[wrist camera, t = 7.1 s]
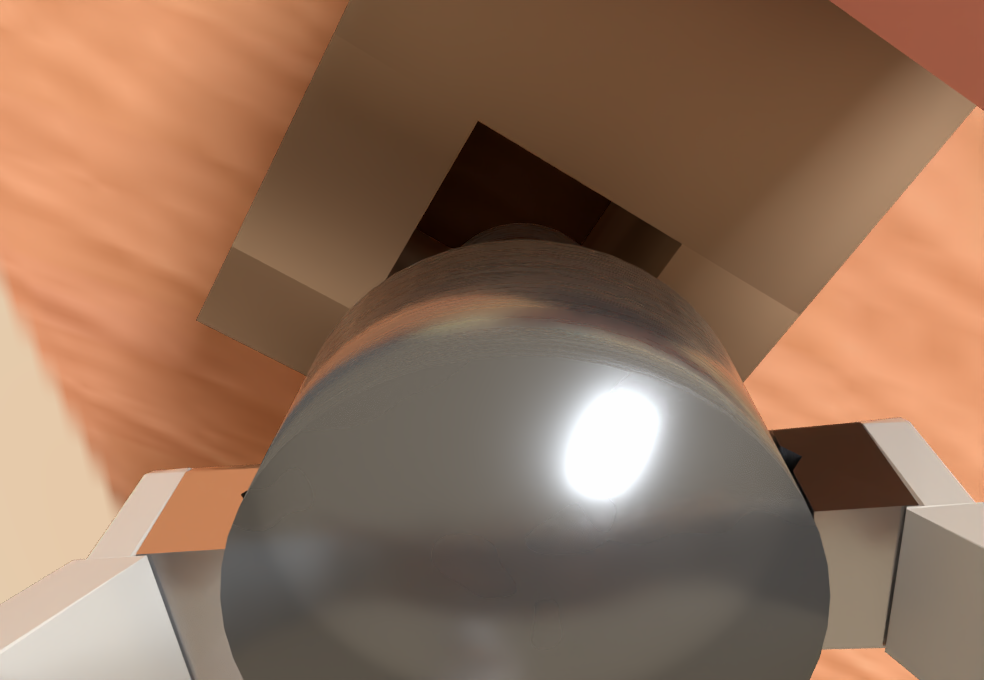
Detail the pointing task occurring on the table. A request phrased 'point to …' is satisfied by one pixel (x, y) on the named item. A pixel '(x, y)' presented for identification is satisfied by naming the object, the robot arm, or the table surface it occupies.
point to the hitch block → (592, 151)
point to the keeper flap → (932, 36)
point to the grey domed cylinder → (523, 489)
